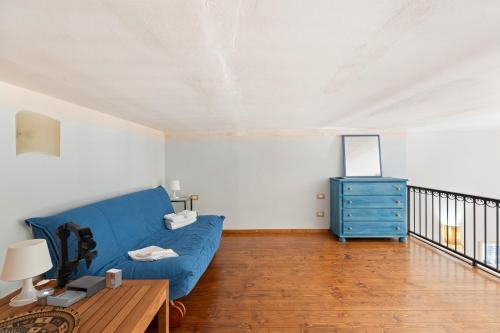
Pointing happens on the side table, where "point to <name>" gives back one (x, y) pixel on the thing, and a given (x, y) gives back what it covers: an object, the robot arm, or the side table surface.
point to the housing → (88, 284)
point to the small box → (113, 278)
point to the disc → (45, 292)
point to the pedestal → (42, 300)
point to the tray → (66, 298)
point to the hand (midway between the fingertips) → (81, 272)
